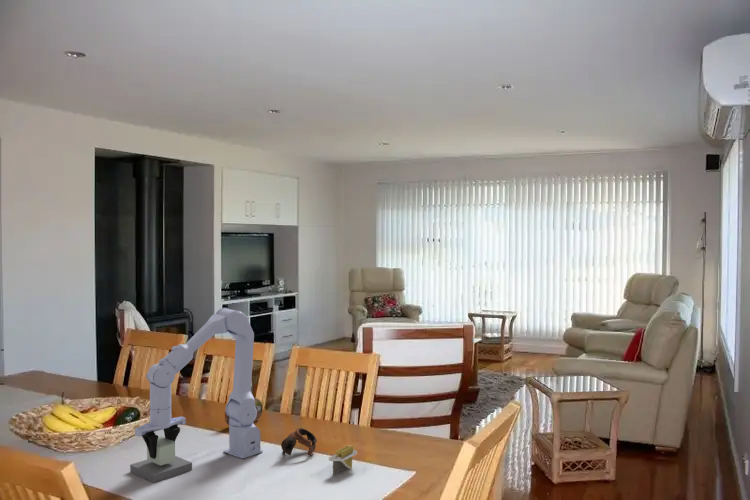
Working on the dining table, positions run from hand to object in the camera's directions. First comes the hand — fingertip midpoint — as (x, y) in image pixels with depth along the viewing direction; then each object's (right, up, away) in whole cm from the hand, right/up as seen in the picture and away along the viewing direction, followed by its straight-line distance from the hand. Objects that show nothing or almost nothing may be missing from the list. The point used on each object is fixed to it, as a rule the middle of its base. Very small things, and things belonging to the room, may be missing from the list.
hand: (161, 455), depth 175 cm
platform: (+51, -5, 0) cm, 52 cm away
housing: (0, -1, 0) cm, 1 cm away
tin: (+14, -3, +43) cm, 46 cm away
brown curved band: (+36, -4, +14) cm, 39 cm away
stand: (0, -4, 0) cm, 4 cm away
